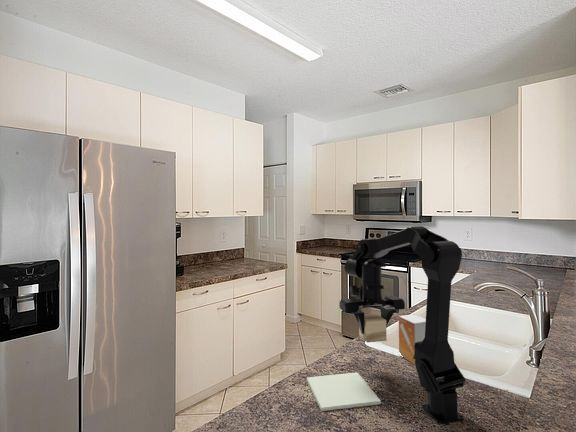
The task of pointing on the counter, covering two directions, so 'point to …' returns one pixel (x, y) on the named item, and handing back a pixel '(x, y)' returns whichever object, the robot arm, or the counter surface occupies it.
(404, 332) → the small box
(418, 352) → the robot arm
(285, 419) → the counter surface
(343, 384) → the sage mat
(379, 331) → the maple cube
